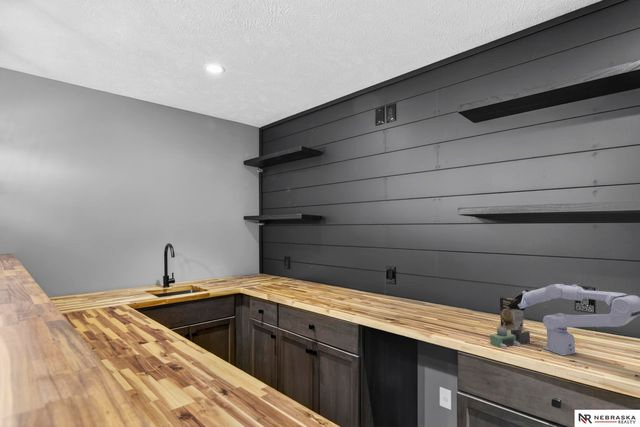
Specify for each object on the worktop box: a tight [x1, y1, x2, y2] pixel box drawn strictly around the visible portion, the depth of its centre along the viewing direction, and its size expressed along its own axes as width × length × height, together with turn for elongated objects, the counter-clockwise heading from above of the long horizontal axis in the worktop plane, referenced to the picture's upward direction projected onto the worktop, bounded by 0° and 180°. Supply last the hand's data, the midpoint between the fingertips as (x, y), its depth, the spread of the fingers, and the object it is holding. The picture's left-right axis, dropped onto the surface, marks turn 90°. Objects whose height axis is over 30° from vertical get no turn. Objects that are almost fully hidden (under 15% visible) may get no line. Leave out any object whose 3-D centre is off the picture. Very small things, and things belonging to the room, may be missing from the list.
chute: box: [510, 329, 531, 345], centre depth 160 cm, size 6×5×5 cm
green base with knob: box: [489, 326, 521, 350], centre depth 156 cm, size 8×10×7 cm
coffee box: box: [499, 296, 525, 332], centre depth 180 cm, size 9×6×16 cm
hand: (512, 303), depth 167 cm, fingers open, 7 cm apart
